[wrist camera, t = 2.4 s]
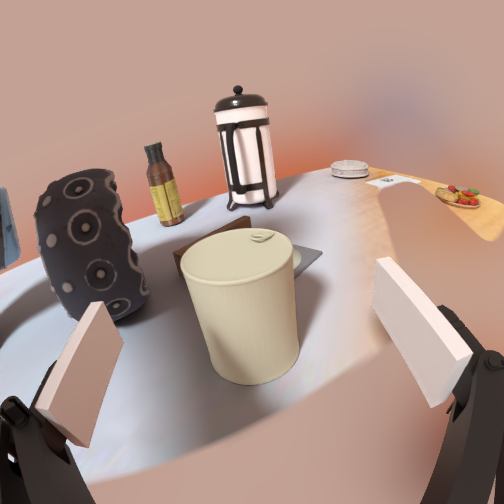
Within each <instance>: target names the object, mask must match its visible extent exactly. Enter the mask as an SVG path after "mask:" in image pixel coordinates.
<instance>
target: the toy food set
mask: <svg viewBox="0 0 504 504" xmlns="http://www.w3.org/2000/svg"><path fill="white" fill-rule="evenodd" d="M435 194H436V195H437V196H438V197H439V198H440V199H441V201H443V202H444V203H446V204H448V205H451V206H454V207H458V208H463V209H475V208H477V207H479V206H480V205H481V201H480V200H479V199H478V198H477V195H478V194H479V192H478V191H476V190H474V189H467V188H465V187H461V186H456V187H454V186H448V188H444V189H443V188H438V189H437V190H436V193H435Z"/></svg>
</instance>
